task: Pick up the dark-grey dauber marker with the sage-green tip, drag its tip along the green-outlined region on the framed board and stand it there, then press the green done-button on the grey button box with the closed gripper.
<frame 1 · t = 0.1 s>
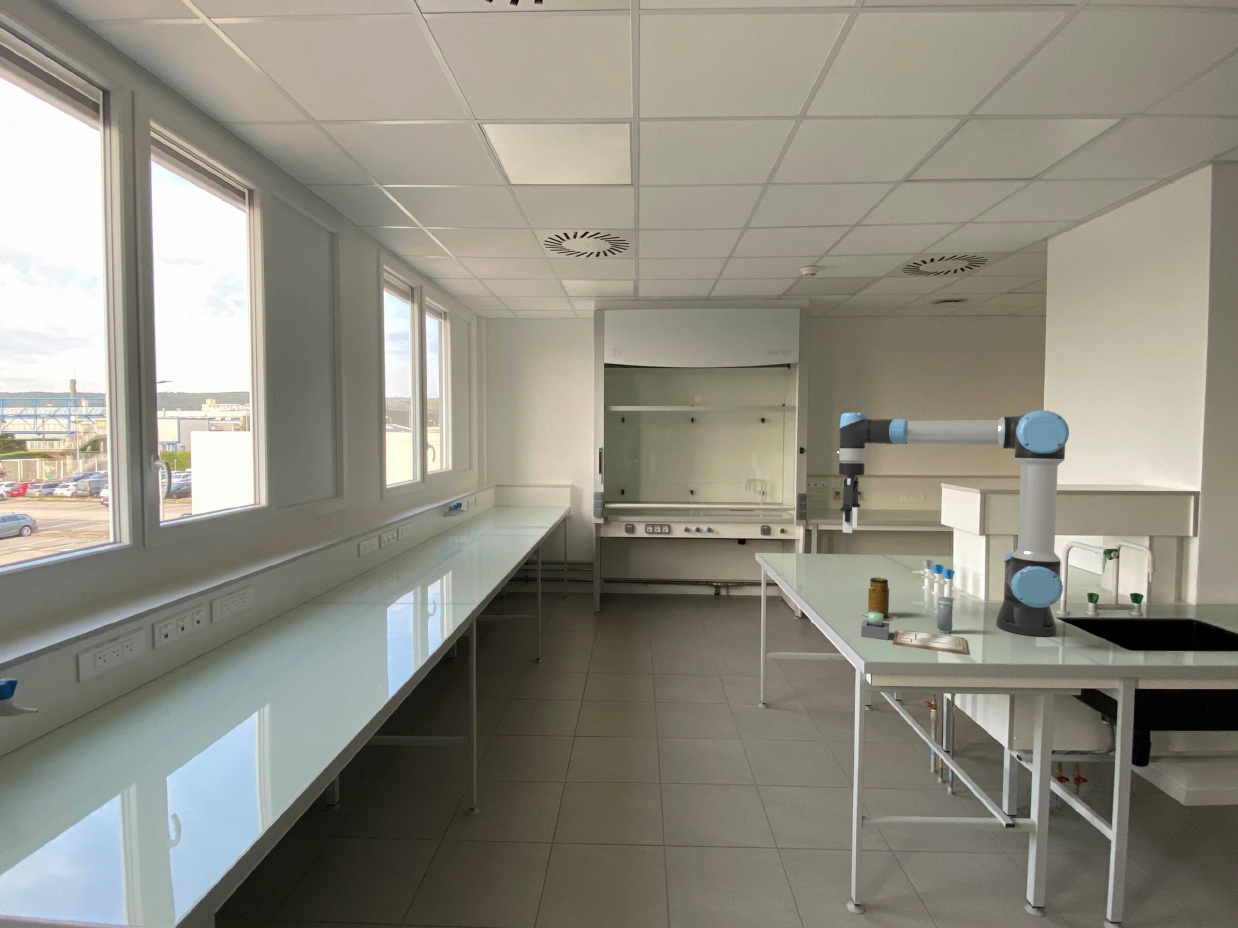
hand: (850, 530, 199), 28 cm above the table, fingers open, 13 cm apart
condiment: (880, 617, 203), on the table
marker: (944, 631, 187), on the table
button box: (875, 634, 183), on the table
button: (875, 618, 183), point 5 cm above the table, slide at 0.0 cm
framed board: (929, 642, 177), on the table
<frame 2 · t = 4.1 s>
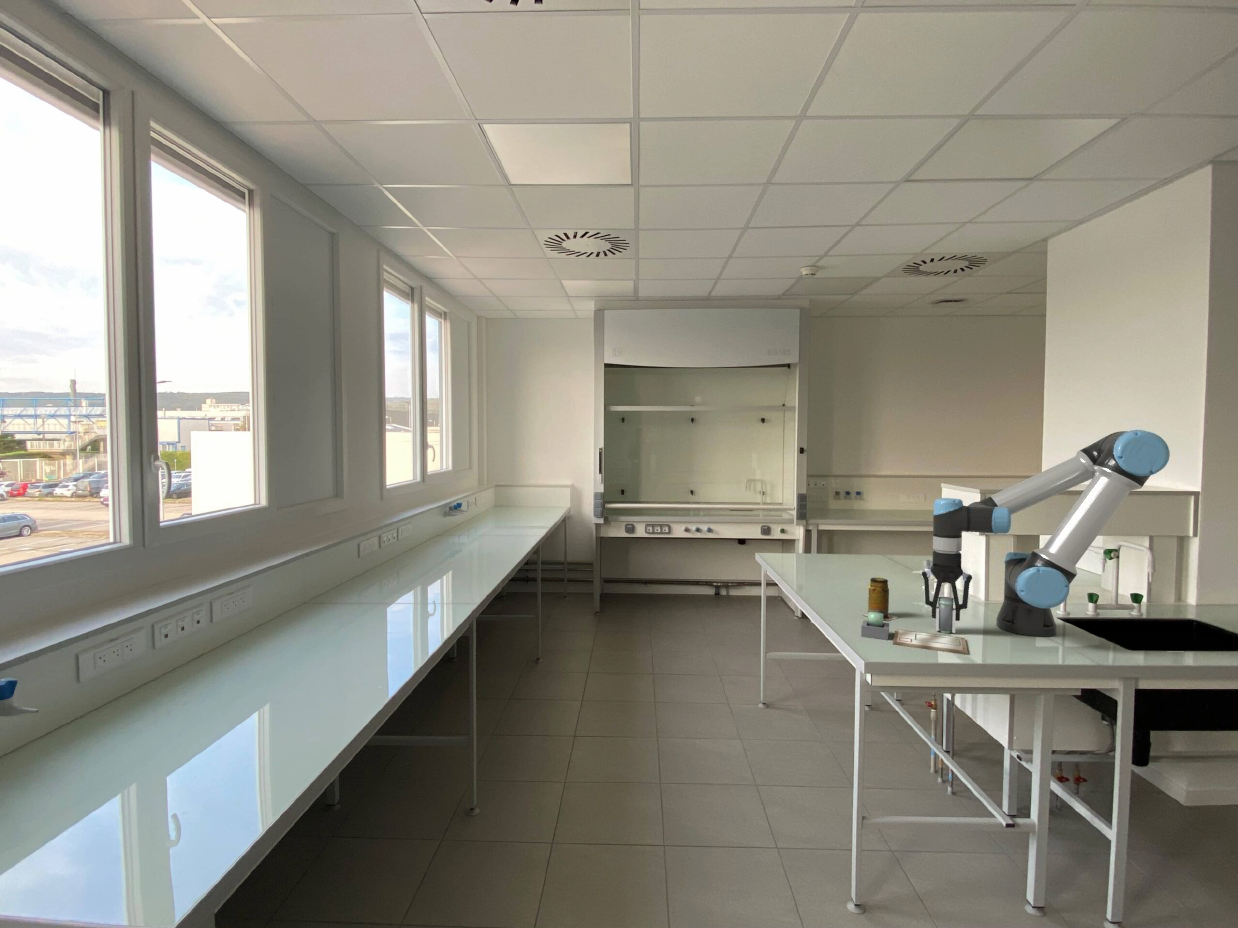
hand: (945, 630, 187), 1 cm above the table, fingers closed on marker, 4 cm apart
marker: (945, 631, 187), on the table, touching gripper
everything else where it was.
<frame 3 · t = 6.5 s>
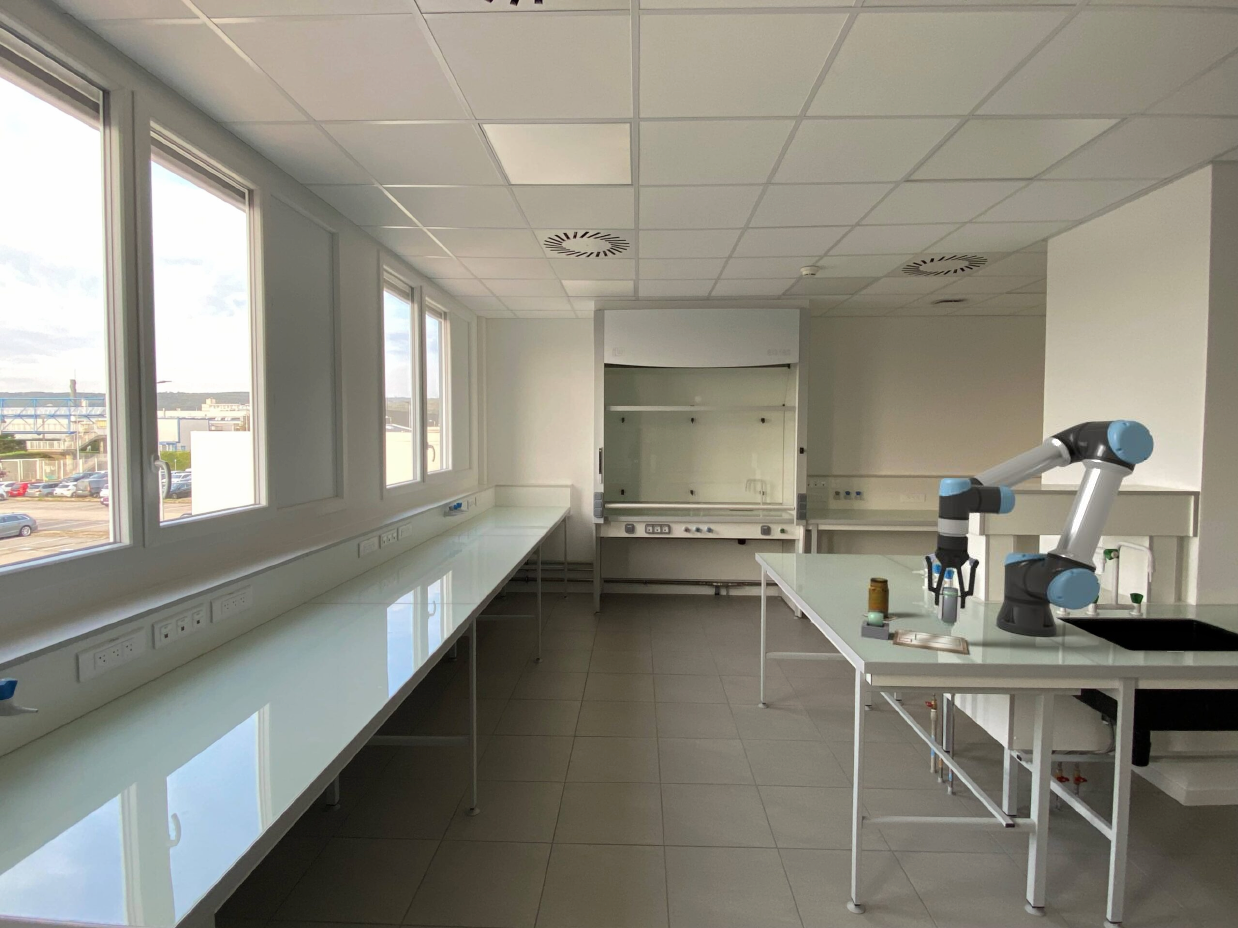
hand: (948, 618, 175), 7 cm above the table, fingers closed on marker, 4 cm apart
marker: (948, 624, 176), point 5 cm above the table, touching gripper
everything else where it was.
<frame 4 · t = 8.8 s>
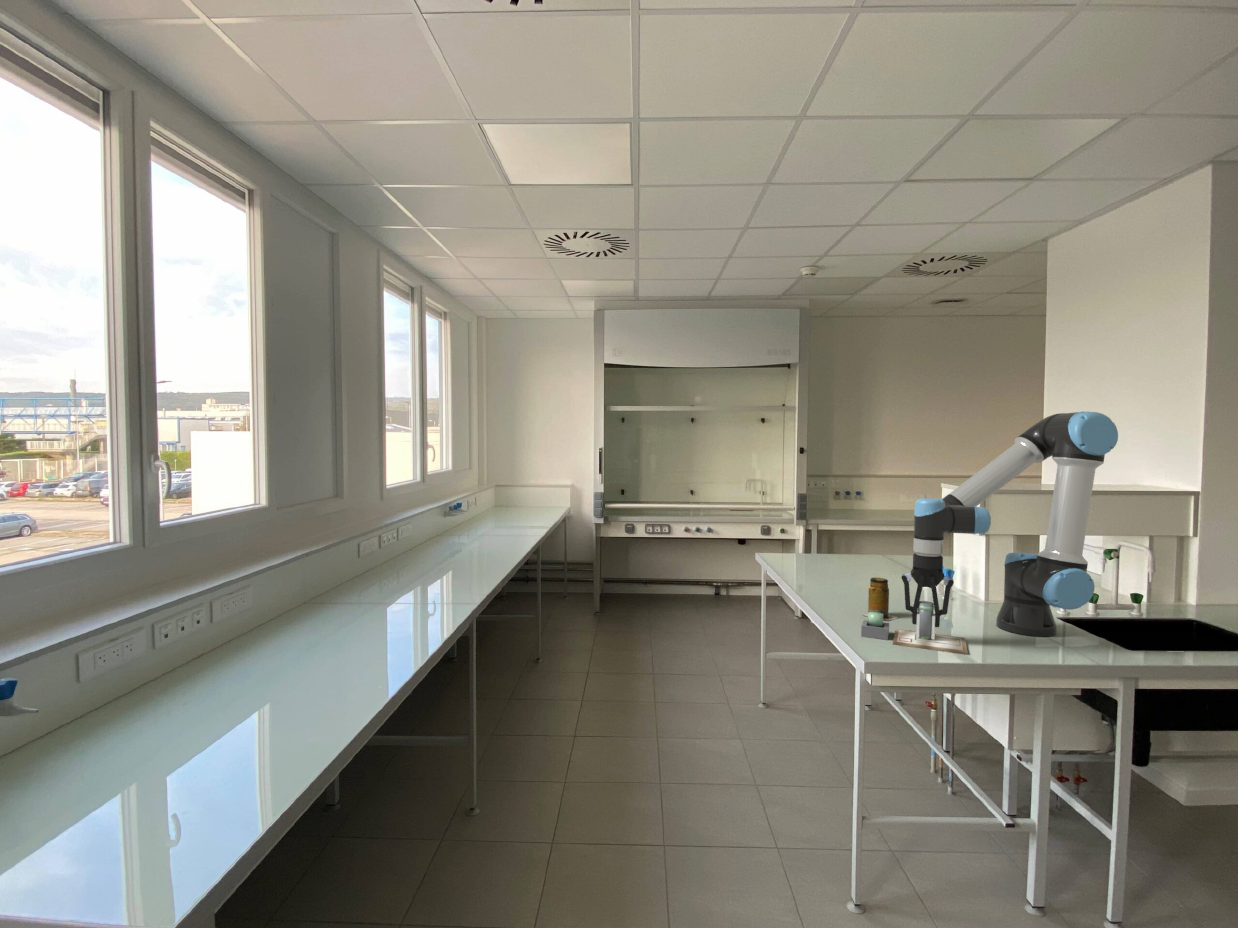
hand: (925, 636, 178), 1 cm above the table, fingers closed on marker, 3 cm apart
marker: (924, 637, 178), point 1 cm above the table, touching gripper
everything else where it was.
when the fingers open (1 cm above the table, at t = 8.9 s): marker stays where it is, resting on framed board.
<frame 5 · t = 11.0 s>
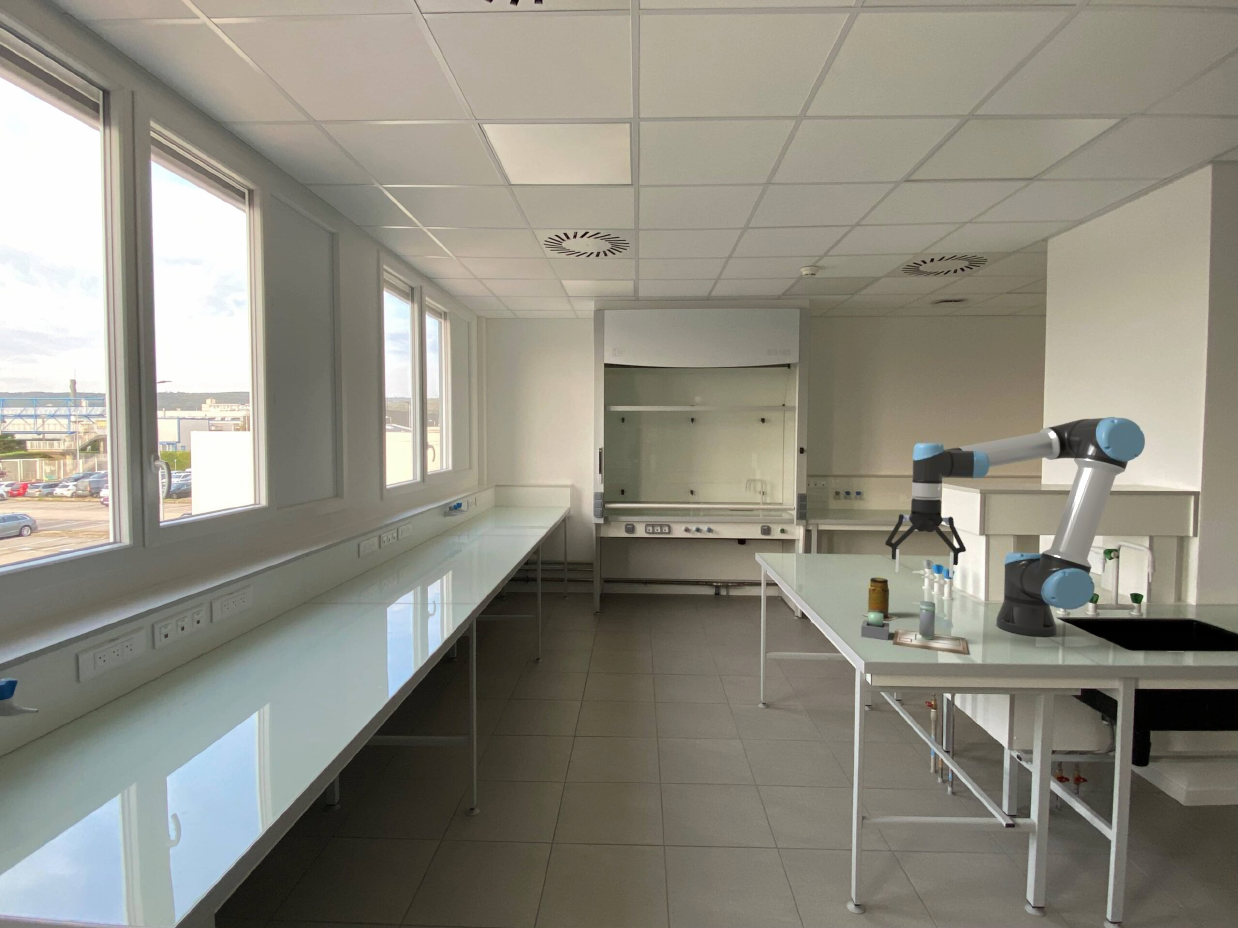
hand: (923, 573, 178), 19 cm above the table, fingers open, 13 cm apart
marker: (926, 638, 178), point 1 cm above the table, touching framed board
everything else where it was.
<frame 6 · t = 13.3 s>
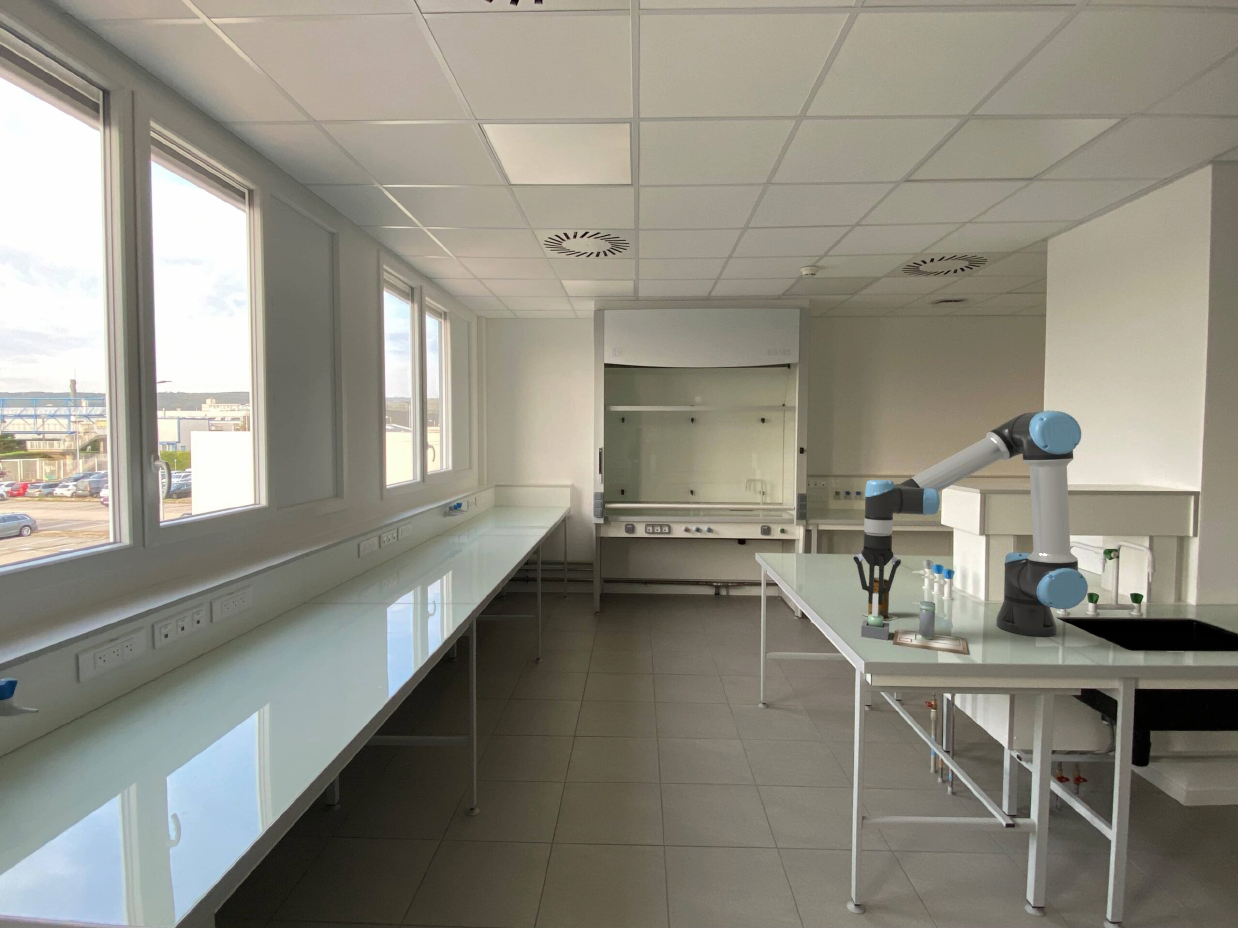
hand: (875, 615, 183), 6 cm above the table, fingers closed
button: (875, 621, 183), point 4 cm above the table, slide at 0.8 cm
everything else where it was.
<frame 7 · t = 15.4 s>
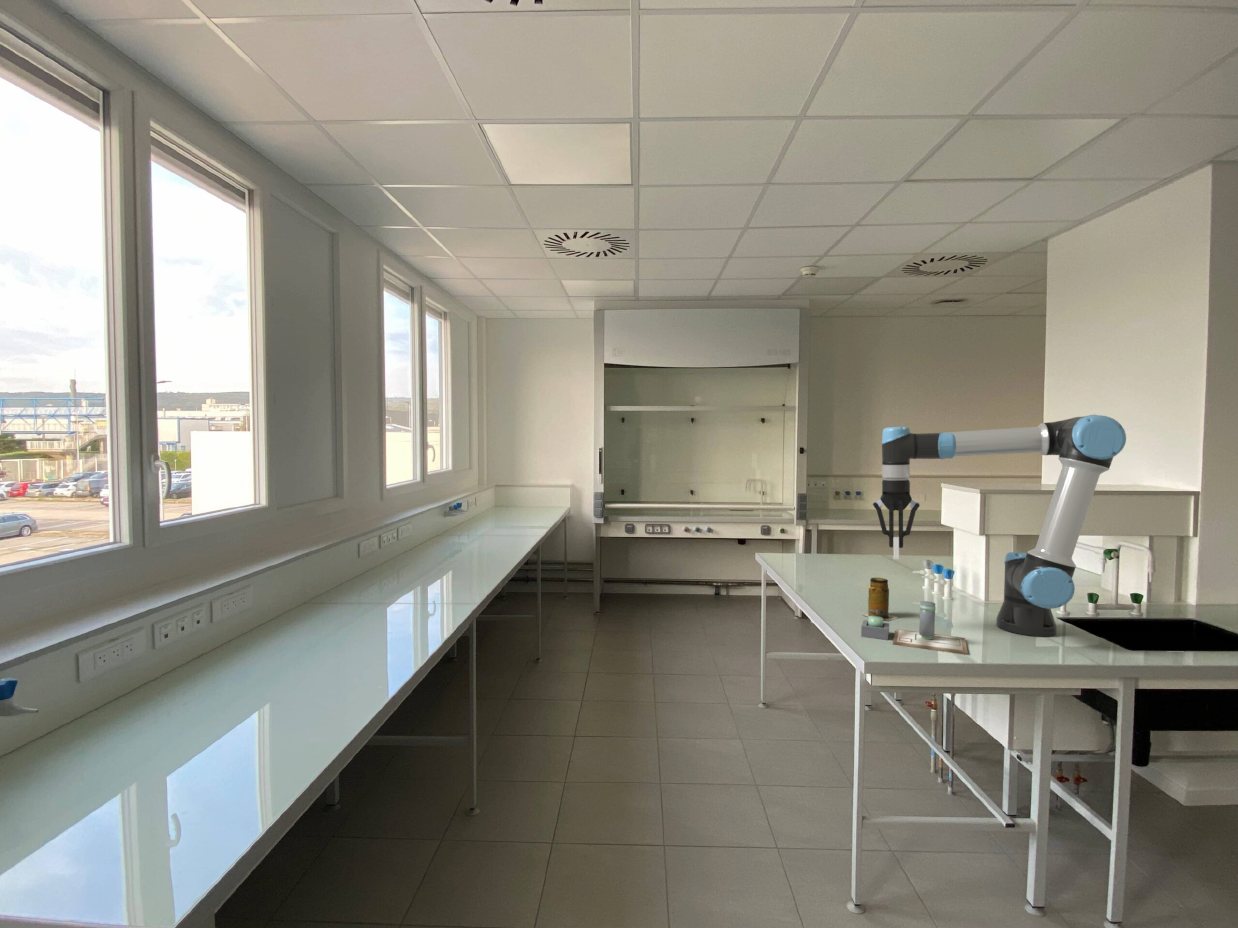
hand: (896, 558, 189), 21 cm above the table, fingers closed
button: (875, 622, 183), point 4 cm above the table, slide at 1.2 cm
everything else where it was.
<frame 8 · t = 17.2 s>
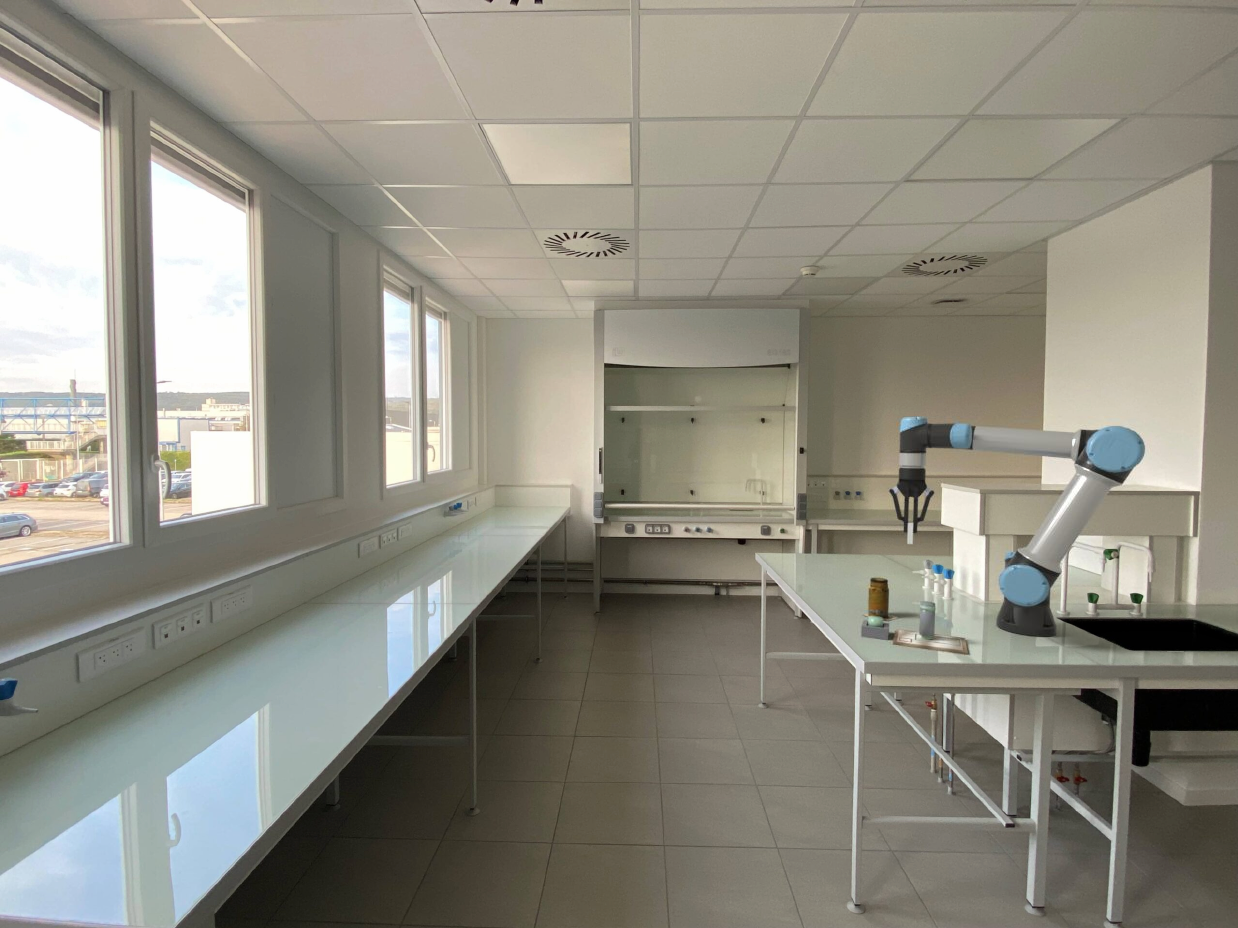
hand: (910, 543, 197), 24 cm above the table, fingers closed
nothing on the table moved.
at the end: marker inside the target area on the framed board (2.7 cm from its centre), point 0.7 cm above the framed board's base; marker tilted 0°; button slide at 1.2 cm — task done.
